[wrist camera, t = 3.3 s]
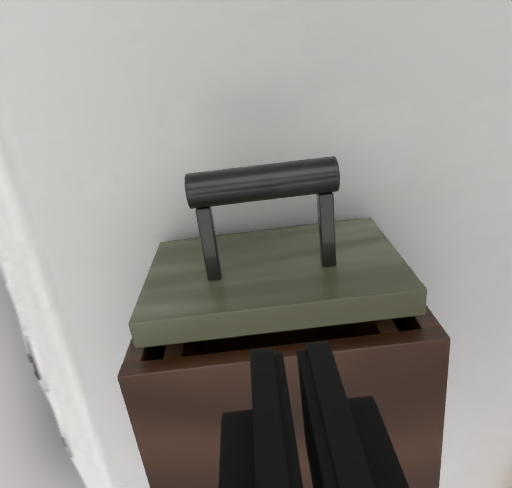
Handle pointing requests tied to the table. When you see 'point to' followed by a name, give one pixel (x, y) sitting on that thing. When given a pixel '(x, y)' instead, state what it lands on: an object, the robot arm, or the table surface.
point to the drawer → (272, 271)
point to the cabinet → (240, 398)
